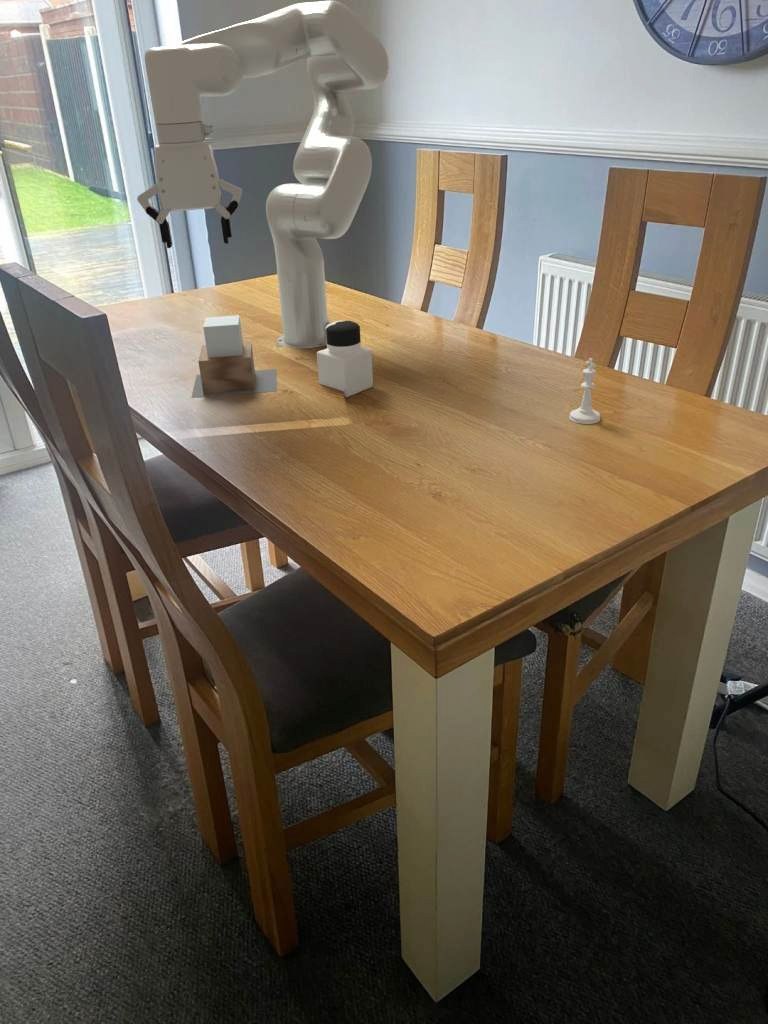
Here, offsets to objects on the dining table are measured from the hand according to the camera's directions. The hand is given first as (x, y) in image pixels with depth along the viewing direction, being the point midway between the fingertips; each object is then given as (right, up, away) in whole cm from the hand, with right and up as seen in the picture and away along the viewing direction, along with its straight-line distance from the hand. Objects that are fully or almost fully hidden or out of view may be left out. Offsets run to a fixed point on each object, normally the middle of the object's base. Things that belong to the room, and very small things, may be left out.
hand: (198, 244), depth 136 cm
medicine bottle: (+25, -24, +8) cm, 36 cm away
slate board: (+5, -24, +9) cm, 26 cm away
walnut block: (+4, -23, +8) cm, 24 cm away
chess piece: (+65, -31, -8) cm, 72 cm away
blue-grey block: (+4, -17, +6) cm, 19 cm away
